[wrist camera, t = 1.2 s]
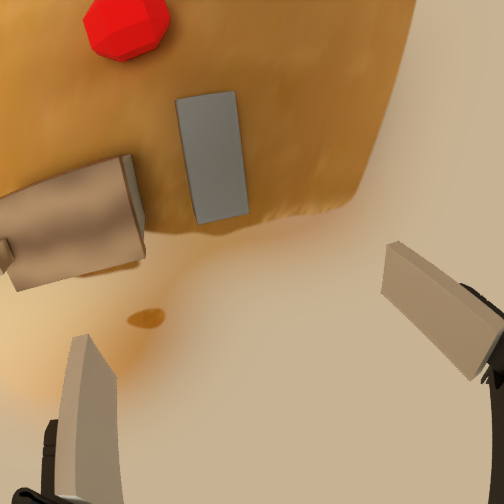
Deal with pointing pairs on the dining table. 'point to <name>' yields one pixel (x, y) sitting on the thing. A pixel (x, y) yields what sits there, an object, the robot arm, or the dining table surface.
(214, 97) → the block
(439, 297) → the robot arm
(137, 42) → the ball
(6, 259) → the bar
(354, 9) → the dining table surface
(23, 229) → the lid
